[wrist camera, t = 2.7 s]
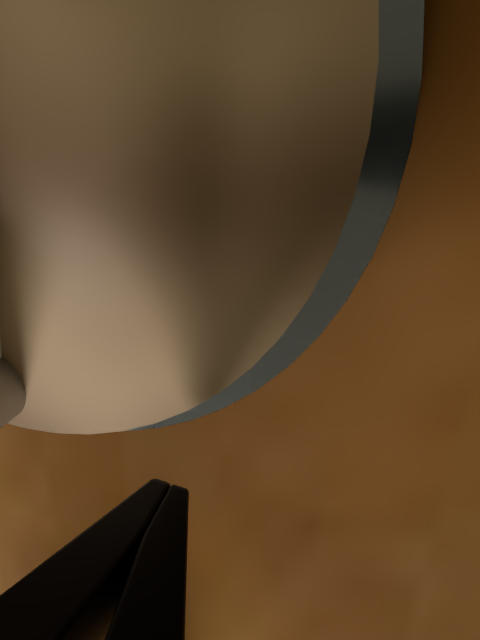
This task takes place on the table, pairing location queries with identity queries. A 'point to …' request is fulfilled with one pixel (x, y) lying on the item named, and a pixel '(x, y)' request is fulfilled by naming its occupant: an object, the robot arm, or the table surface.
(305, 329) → the dial housing
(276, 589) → the table surface
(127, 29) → the dial
